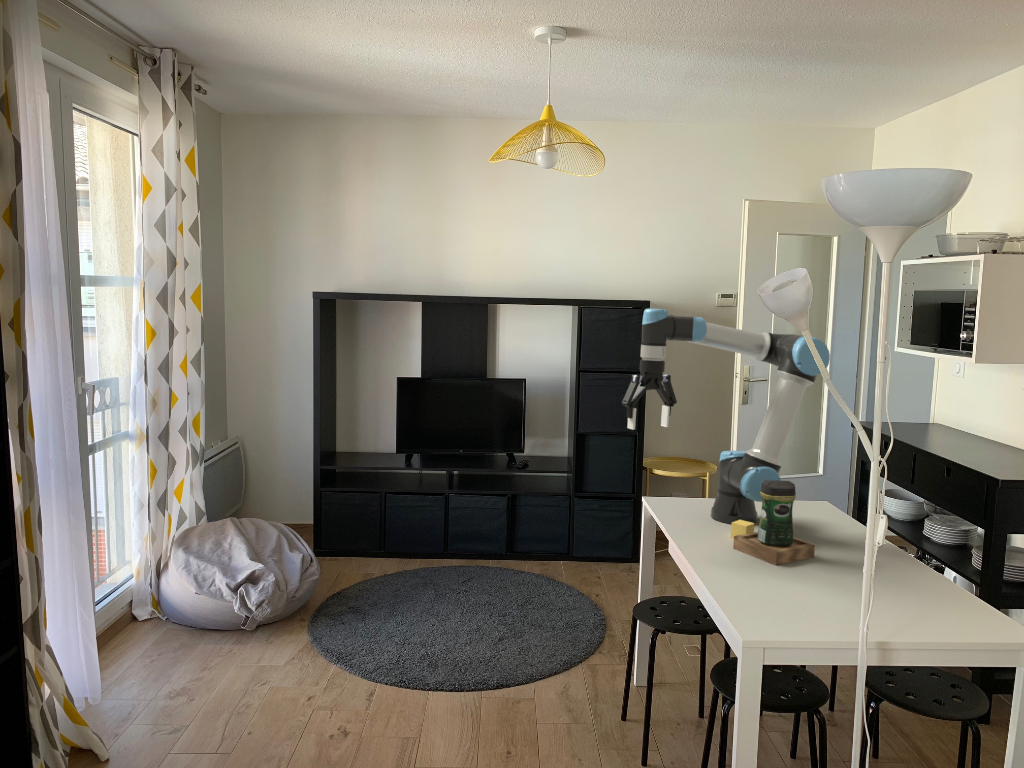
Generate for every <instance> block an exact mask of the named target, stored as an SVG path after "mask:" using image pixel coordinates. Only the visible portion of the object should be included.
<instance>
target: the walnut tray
mask: <svg viewBox="0 0 1024 768" xmlns="http://www.w3.org/2000/svg"><path fill="white" fill-rule="evenodd" d="M757 537H758V531H754V533H748V534H742V535H737V536H734V539H733V542H732V543H733V547H732V548H733V549H734V550H737V551H738V552H741V553H743V554H746V555H749V556H752V557H753V558H756V559H759V560H760V561H761V560H762V561H764V562H766V563H769V564H771V565H773V566H779V565H784V564H785V565H786V564H789V563H793V562H798V561H803V560H808V559H812V558H815V551H816V544H815V543H812V542H809V541H806V540H803V539H801V538H797V537H794V536H793V543H792V544H791V545H788V546H770V545H766V544H762V543H761V542H760V541H759V540H758V538H757Z"/></svg>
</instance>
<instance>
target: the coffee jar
mask: <svg viewBox="0 0 1024 768" xmlns="http://www.w3.org/2000/svg"><path fill="white" fill-rule="evenodd" d="M760 494H761V497H762V502H761V511H760V512H761V513H760V519H759V525H758V529H757V532H758V537H757V538H758V540H759V541H760V542H761V543H762V544H766V545H770V546H788V545H791V544H792V543H793V537H794V529H793V526H794V525H793V507H794V502H795V500H796V495H797V494H796V485H795V484H794V482H792V481H790V480H769V481H763V482H762V485H761V491H760Z"/></svg>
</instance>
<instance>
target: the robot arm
mask: <svg viewBox="0 0 1024 768" xmlns="http://www.w3.org/2000/svg"><path fill="white" fill-rule="evenodd" d="M641 325H642V326H641V344H640V360H639V371H640V375H637V374H632V375H631V379H630V384H629V385H628V388H627V390H626V393H625V394H624V397H623V399H622V401H621V405H622V406H624V407H625V408H626V418H627V427H626V428H627V429H629V430H632V431H633V430H636V420H637V419H636V418H637V417H636V416H637V408H636V405H637V404H638V402H640V399H641V398H642V396H643V395H644V394H645V392H647V391H649V390H650V391H651V390H654V391H656V392H657V395H658V396H659V398H660V399H661V401H662V403H663V404H664V405H661V416H660V417H661V419H660V426H661V427H664V428H669V425H670V416H671V415H672V412H671V411H672V408H673V407H674V406H675V405H677V403H678V400H677V398H676V395H675V392H674V391H675V390H674V388H673V385H672V382H671V381H672V379H671V378H672V376H671V374H665V373H664V372H665V367H666V366H665V365H666V362H665V359H666V355H667V354H666V349H667V341H673V342H674V341H675V342H678V341H679V342H686V343H691V344H696V345H701V346H703V347H704V346H705V347H709V348H710V347H711V348H713V349H718V350H723V351H727V352H733V353H737V354H743V355H745V356H749V357H750V356H751V357H755V358H756V360H757V361H760V362H764V363H767V364H771V365H773V366H775V367H777V370H776V372H777V375H778V376H779V377H778V382H777V383H776V386H775V388H774V391H773V394H772V397H771V399H770V401H769V405H768V406H767V409H766V412H765V414H764V417H763V420H762V423H761V425H760V427H759V429H758V433H757V435H756V438H755V439H754V440H755V441H754V442H753V446H752V448H750V449H747V450H724V451H721V453H720V454H719V455H720V456H719V460H718V462H719V465H718V466H719V467H718V482H717V495H716V497H715V500H714V503H713V506H712V507H711V510H710V517H711V519H713V520H715V521H718V522H721V523H726V524H730V525H732V522H735V521H738V520H743V521H747V522H751V523H755V524H756V523H757V522H758V519H759V518H758V517H759V516H758V515H759V514H758V512H757V509H756V505H755V504H756V503H755V502H759V503H762V497H761V494H760V491H761V485H762V482H763V481H769V480H781V478H780V474H779V473H780V470H781V467H782V463H781V460H780V456H781V453H782V451H783V449H784V446H785V444H786V441H787V439H788V436H789V433H790V431H791V428H792V425H793V424H794V420H795V419H796V416H797V412H798V410H799V408H800V405H801V403H802V401H803V398H804V395H805V393H806V389H807V388H808V387H810V386H812V385H814V384H815V381H816V378H817V376H818V375H820V374H822V373H821V372H820V370H819V368H818V366H817V364H816V362H815V360H814V357H813V355H812V353H811V351H810V349H809V347H808V345H807V343H806V341H805V338H804V336H805V335H799V334H793V333H792V334H789V333H788V334H787V333H784V334H783V333H782V334H781V333H773V332H767V331H764V332H762V333H756V332H753V331H748V330H743V329H740V328H734V327H730V326H725V325H720V324H715V323H711V322H707V321H706V319H705V318H703V317H699V316H683V315H675V314H669V310H668V309H665V308H664V309H663V308H662V309H661V308H645V309H644V311H643V315H642V323H641ZM811 338H812V340H813V342H814V344H815V347H816V349H817V351H818V353H819V355H820V357H821V359H822V361H823V363H824V365H825V368H826V369H827V368H828V366H829V364H830V360H831V359H830V358H831V354H830V350H829V348H828V346H827V345H826V343H825V342H824V341H822V340H821V339H819V338H817V337H815V336H811ZM663 373H664V374H663ZM781 481H782V480H781Z"/></svg>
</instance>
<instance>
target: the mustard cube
mask: <svg viewBox="0 0 1024 768" xmlns="http://www.w3.org/2000/svg"><path fill="white" fill-rule="evenodd" d="M755 524H756V523H751V522H747V521H743V520H738V521H735V522H732V524H730V525H731V526H730V528H731V529H730V539H732V540H734V536H737V535H742V534H748V533H754V532H755Z"/></svg>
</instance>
